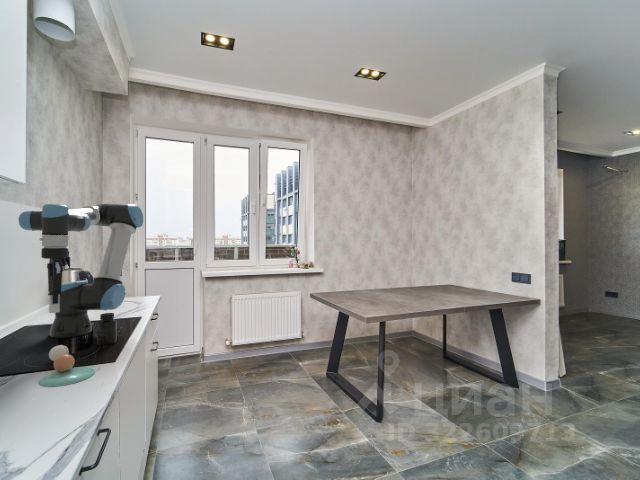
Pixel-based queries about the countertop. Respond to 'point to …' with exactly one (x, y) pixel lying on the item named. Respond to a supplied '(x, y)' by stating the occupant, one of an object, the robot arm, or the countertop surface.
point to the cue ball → (58, 351)
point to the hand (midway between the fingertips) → (54, 312)
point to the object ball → (64, 363)
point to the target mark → (66, 377)
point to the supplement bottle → (107, 329)
